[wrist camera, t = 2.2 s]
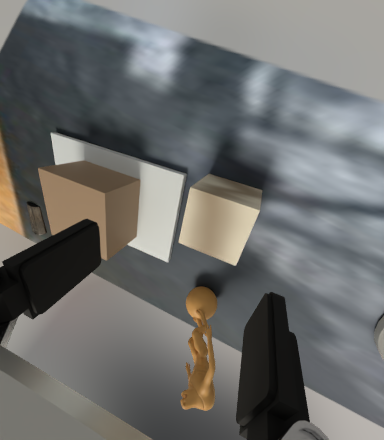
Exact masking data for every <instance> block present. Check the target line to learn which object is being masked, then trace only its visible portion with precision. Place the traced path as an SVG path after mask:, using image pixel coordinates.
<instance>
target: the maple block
mask: <svg viewBox="0 0 384 440" xmlns="http://www.w3.org/2000/svg"><path fill="white" fill-rule="evenodd" d="M261 198H262V190H260V189H257V188H254V187H250V186H247V185H244V184H241V183H237V182H234V181H231V180H228V179H225V178H221V177H218V176H215V175H212V174H208V175H207V176H205V177H204V178H203V179H201V180H200V181H198V182H197V183H196V184H194V185H193V186H191V187H190V191H189V196H188V201H187V205H186V210H185V215H184V219H183V224H182V229H181V234H180V238H179V243H181V244H183V245H186V246H188V247H191V248H193V249H195V250H198V251H200V252H203V253H205V254H208V255H210V256H212V257H215V258H217V259H220V260H222V261H225V262H227V263H230V264H232V265H234V266H236V264H237V262H238V260H239V258H240V255H241V253H242V251H243V248H244V246H245V244H246V242H247V239H248V237H249V235H250V232H251V230H252V228H253V226H254V223H255V221H256V219H257V216H258V214H259V212H260V207H261Z"/></svg>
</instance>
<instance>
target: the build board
mask: <svg viewBox="0 0 384 440" xmlns="http://www.w3.org/2000/svg"><path fill="white" fill-rule="evenodd" d="M51 138H52V145H53V151H54V157H55V164H56V165H53V166H46V167H40V168H38V171H39V176H40V180H41V185H42V190H43V195H44V200H45V204H46V209H47V214H48V219H49V224H50V229H51V233H52V235H55V234H57V233H59V232H60V231H62V230H64V229H66V228H68V227H70V226H72V225H74V224H76V223H78V222H80V221H82V220H84V219H89V220H92V221H94V222H97V224H98V226H99V231H100V248H101V258H102V259H105V260H108V259H110V258H111V257H112V256H113V255H115V254H116V253H117V252H118V251H120V250H121V249H122V248H123V247H125V246H126V245H129V246H132V247H134V248H136V249H138V250H141V251H143V252H145V253H148V254H150V255H152V256H154V257H157V258H159V259H161V260H163V261H166V262H168V261H169V260H170V258H171V253H172V248H173V243H174V238H175V233H176V228H177V222H178V217H179V212H180V207H181V202H182V197H183V192H184V186H185V181H186V176H187V174H185V173H182V172H179V171H176V170H173V169H170V168H167V167H163V166H160V165H157V164H154V163H151V162H148V161H145V160H141V159H138V158H135V157H132V156H129V155H126V154H123V153H119V152H116V151H113V150H110V149H107V148H104V147H100V146H97V145H94V144H91V143H88V142H85V141H82V140H78V139H75V138H72V137H69V136H66V135H63V134H60V133H51Z"/></svg>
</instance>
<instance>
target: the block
mask: <svg viewBox="0 0 384 440" xmlns="http://www.w3.org/2000/svg"><path fill="white" fill-rule="evenodd" d="M27 207H28V212H29V217H30V222H31V227H32V230H33V232H34V233H35V234H37V235H42V234H45V233H47V231H46V227H45V224H44V220H43V216H42V213H41V209H40V207H39V206H36V205H34V204H32V203H29V202H27Z"/></svg>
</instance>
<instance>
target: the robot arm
mask: <svg viewBox="0 0 384 440" xmlns="http://www.w3.org/2000/svg"><path fill="white" fill-rule="evenodd" d="M100 263H101V248H100V231H99V226H98V224H97V222H94V221H92V220H89V219H84V220H82V221H80V222H78V223H76V224H74V225H72V226H70V227H68V228H66V229H64V230H62V231H60V232H59V233H57V234H55V235H53V236H51V237H49V238H47V239H45V240H43V241H41V242H39V243H37V244H35V245H34V246H32V247H30V248H28V249H26V250H24V251H22V252H20V253H18V254H16V255H14V256H12V257H10V258H9V259H6V260H4V261H3V265H4V266H2V267H0V440H152V439H151V438H149V437H148V436H146V435H145V434H143V433H141V432H140V431H138V430H137V429H135V428H133V427H132V426H130V425H129V424H127V423H125V422H124V421H122V420H121V419H119V418H117V417H116V416H114V415H113V414H111V413H109V412H108V411H106V410H105V409H103V408H101V407H100V406H98V405H96V404H95V403H93V402H92V401H90V400H88V399H87V398H85V397H84V396H82V395H80V394H79V393H77V392H76V391H74V390H72V389H71V388H69V387H67V386H66V385H64V384H62V383H61V382H59V381H58V380H56V379H55V378H53V377H51V376H50V375H48V374H46V373H45V372H43V371H42V370H40V369H38V368H37V367H35V366H33V365H32V364H30V363H29V362H27V361H25V360H23V359H22V358H20V357H18V356H17V355H15V354H14V353H12V352H11V351H9V350H7V349H6V346H7V344H8V342H9V339H10V336H11V334H12V331H13V329H14V326H15V324H16V321H17V318H18V316H19V315H21V314H22V313H24V315H26V316H28V317H29V318H31V319H34V318H35V317H37V316H38V315H39V314H43V313H44V312H46V311H47V310H48V309H49V308H50V307H51V306H53V305H54V304H55V303H56V302H57V301H59V300H60V299H61V298H62V297H63V296H64V295H66V293H68V292H69V291H70V290H71V289H73V288H74V287H75V286H76V285H77V284H79V283H80V282H81V281H82V280H83V279H84V278H86V277H87V276H88V275H89V274H90V273H91V272H93V271H94V270H95V269H96V268H97V267H98V266H99V265H100ZM374 340H375V343H376V347H377V349H378V351H379V353H380V354H381V356H382V358H383V360H384V316H383V317H382V318H381V320H380V321H379V322H378V324H377V326H376V329H375V332H374ZM236 421H237V423H238V424H240V435H241V436H243V437H244V438H246V439H247V440H329V439H328V438H327V436H326V435H325V434H324V433H323V432H322V431H321V430H320V429H319V428H318V427H316V426H315V425H314V424H312V423H310V420H309V414H308V408H307V401H306V395H305V389H304V382H303V376H302V370H301V364H300V357H299V351H298V345H297V340H296V336H295V334H294V333H292V332H290V331H289V327H288V319H287V311H286V304H285V298H284V297H283V296H280V295H278V294H275V293H273V292H270V293H269V294H267V293H265V295H264V296H263V298H262V299H261V301H260V303H259V304H258V306H257V308H256V309H255V311H254V313H253V314H252V316H251V318H250V319H249V321H248V322H247V324H246V326H245V329H244V337H243V348H242V359H241V370H240V380H239V391H238V402H237V413H236Z"/></svg>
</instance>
